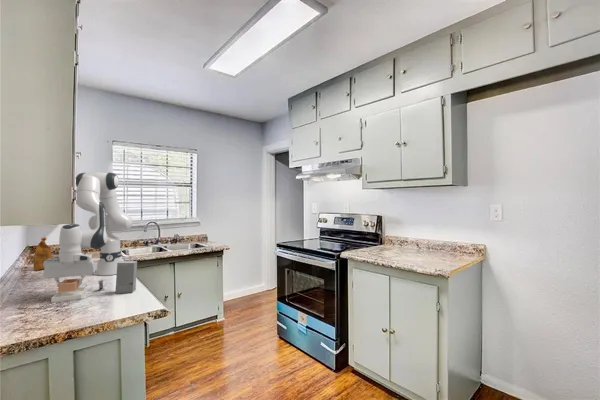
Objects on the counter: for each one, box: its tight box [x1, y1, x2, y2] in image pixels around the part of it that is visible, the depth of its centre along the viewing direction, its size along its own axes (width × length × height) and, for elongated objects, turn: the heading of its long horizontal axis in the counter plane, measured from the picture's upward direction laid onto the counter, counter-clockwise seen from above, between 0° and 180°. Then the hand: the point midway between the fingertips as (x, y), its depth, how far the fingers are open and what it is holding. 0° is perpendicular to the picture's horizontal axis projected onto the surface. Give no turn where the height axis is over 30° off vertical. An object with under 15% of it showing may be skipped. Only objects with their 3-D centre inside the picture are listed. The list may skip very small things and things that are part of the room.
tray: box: [50, 286, 88, 304], centre depth 148 cm, size 16×11×2 cm
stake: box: [97, 280, 105, 292], centre depth 159 cm, size 4×3×5 cm
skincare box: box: [115, 260, 138, 295], centre depth 157 cm, size 8×7×16 cm
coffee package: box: [33, 236, 53, 271], centre depth 210 cm, size 10×12×22 cm
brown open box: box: [57, 277, 82, 292], centre depth 148 cm, size 12×7×4 cm, turn 24°
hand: (69, 285), depth 147 cm, fingers closed on brown open box, 7 cm apart
